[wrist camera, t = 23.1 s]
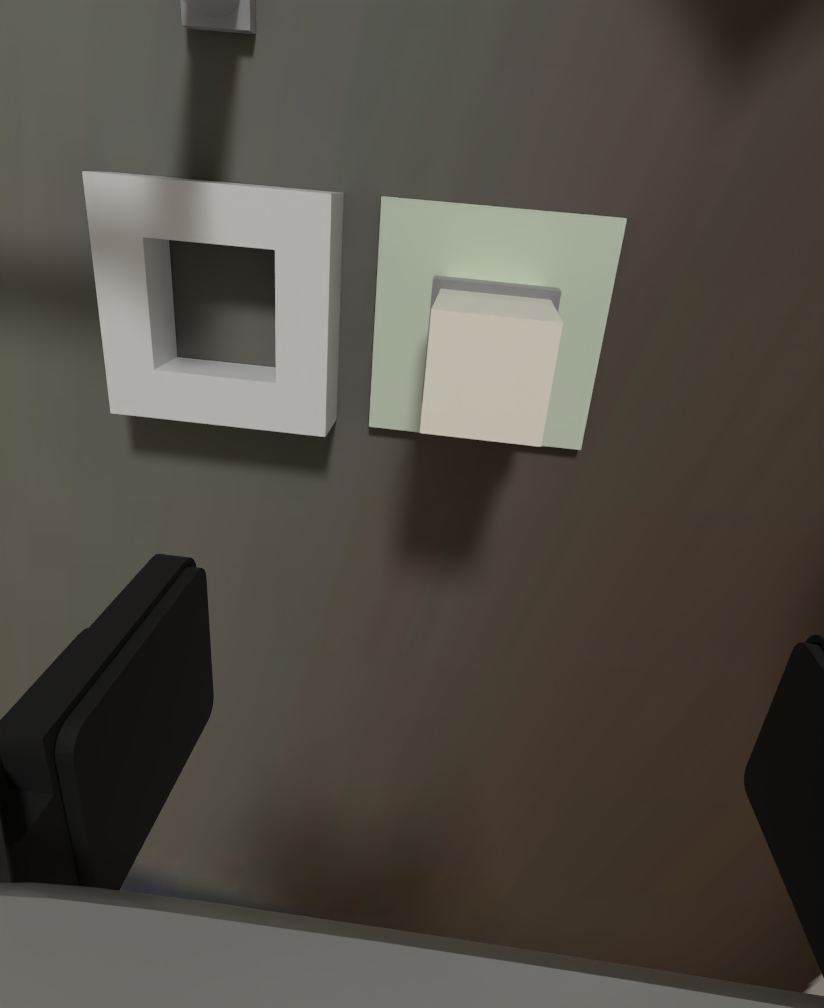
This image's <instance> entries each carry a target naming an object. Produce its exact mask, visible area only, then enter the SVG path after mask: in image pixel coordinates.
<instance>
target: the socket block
mask: <svg viewBox="0 0 824 1008" xmlns="http://www.w3.org/2000/svg"><path fill="white" fill-rule="evenodd" d="M181 14H182V26H184V27H186V28H188V29H196V30H209V31H222V32H235V33H248V34H256V19H255V0H181ZM82 174H83V183H84V191H85V200H86V208H87V217H88V225H89V234H90V242H91V251H92V259H93V268H94V276H95V284H96V293H97V301H98V310H99V318H100V327H101V335H102V344H103V352H104V361H105V369H106V378H107V386H108V395H109V403H110V412H111V413H113V414H122V415H131V416H140V417H149V418H158V419H167V420H176V421H185V422H194V423H203V424H212V425H221V426H230V427H239V428H248V429H257V430H266V431H275V432H284V433H293V434H302V435H311V436H320V437H326V435H327V434H328V432H329V431H330V429H331V427H332V426H333V424H334V423H335V421H336V420H337V389H338V358H339V328H340V297H341V266H342V235H343V204H344V193H340V192H329V191H318V190H307V189H296V188H285V187H273V186H262V185H251V184H240V183H229V182H218V181H207V180H195V179H184V178H173V177H162V176H151V175H140V174H129V173H118V172H91V171H82ZM169 240H176V241H186V242H197V243H207V244H218V245H228V246H239V247H249V248H260V249H270V250H275V332H276V367H267V366H257V365H248V364H238V363H229V362H220V361H210V360H201V359H191V358H182V357H177V344H176V330H175V316H174V302H173V288H172V274H171V260H170V246H169Z"/></svg>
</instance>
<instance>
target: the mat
mask: <svg viewBox="0 0 824 1008" xmlns="http://www.w3.org/2000/svg"><path fill="white" fill-rule="evenodd" d="M626 221H627V219H626V218H618V217H607V216H596V215H585V214H574V213H563V212H552V211H541V210H529V209H518V208H507V207H496V206H485V205H474V204H463V203H451V202H440V201H429V200H418V199H407V198H396V197H385V196H382V197H381V214H380V233H379V251H378V269H377V288H376V306H375V325H374V343H373V361H372V380H371V398H370V417H369V427H375V428H385V429H394V430H403V431H412V432H420V424H421V413H422V403H423V402H421V401H422V390H423V379H424V369H425V358H426V347H427V336H428V326H429V315H430V304H431V293H432V283H433V278H434V276H435V275H437V276H447V277H457V278H466V279H476V280H486V281H496V282H506V283H516V284H526V285H535V286H545V287H555V288H560V290H561V291H562V292H561V298H560V304H559V309H558V314H559V316H560V318H561V320H562V322H563V327H562V333H561V338H560V344H559V349H558V355H557V361H556V366H555V372H554V378H553V383H552V389H551V394H550V400H549V406H548V411H547V417H546V423H545V428H544V434H543V439H542V445H541V446H548V447H557V448H566V449H575V450H581V446H582V441H583V436H584V431H585V426H586V421H587V416H588V411H589V406H590V401H591V396H592V391H593V386H594V381H595V376H596V371H597V366H598V361H599V356H600V351H601V346H602V341H603V336H604V331H605V326H606V321H607V316H608V311H609V306H610V301H611V296H612V291H613V286H614V281H615V276H616V271H617V266H618V261H619V256H620V251H621V246H622V241H623V236H624V231H625V226H626Z"/></svg>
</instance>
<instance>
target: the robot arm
mask: <svg viewBox="0 0 824 1008" xmlns="http://www.w3.org/2000/svg"><path fill="white" fill-rule="evenodd" d="M212 706H213V679H212V662H211V646H210V630H209V613H208V597H207V581H206V573H205V570H204V569H203V568H197V567H196V563H195V561H194V560H193V559H192V558H188V557H180V556H172V555H164V554H156V555H155V556H153V557H152V558H151V559H150V560H149V562H148V563H147V564H146V565H145V566H144V567H143V568H142V569H141V570H140V572H139V573H138V574H137V575H136V576H135V577H134V578H133V579H132V580H131V582H130V583H129V584H128V585H127V586H126V587H125V588H124V589H123V590H122V592H121V593H120V594H119V595H118V596H117V597H116V598H115V599H114V600H113V602H112V603H111V604H110V605H109V606H108V607H107V608H106V609H105V610H104V612H103V613H102V614H101V615H100V616H99V617H98V618H97V619H96V620H95V622H94V623H93V624H92V625H91V626H90V627H89V628H87V629H85V630H83V631H82V632H81V633H80V634H79V635H78V636H77V637H76V638H75V639H74V640H73V641H72V642H71V643H70V644H69V645H68V647H67V648H66V649H65V650H64V651H63V652H62V653H61V654H60V655H59V656H58V658H57V659H56V660H55V661H54V662H53V663H52V664H51V665H50V666H49V667H48V669H47V670H46V671H45V672H44V673H43V674H42V675H41V676H40V677H39V678H38V680H37V681H36V682H35V683H34V684H33V685H32V686H31V687H30V688H29V689H28V691H27V692H26V693H25V694H24V695H23V696H22V697H21V698H20V699H19V700H18V701H17V703H16V704H15V705H14V706H13V707H12V708H11V709H10V710H9V711H8V712H7V714H6V715H5V716H4V717H3V718H2V719H1V720H0V1008H824V996H818V995H812V994H806V993H799V992H793V991H787V990H781V989H774V988H768V987H762V986H755V985H749V984H743V983H737V982H730V981H724V980H718V979H711V978H705V977H699V976H693V975H686V974H680V973H674V972H667V971H661V970H655V969H649V968H642V967H636V966H630V965H623V964H617V963H610V962H604V961H597V960H591V959H584V958H578V957H571V956H565V955H558V954H552V953H545V952H539V951H532V950H526V949H519V948H513V947H506V946H500V945H493V944H487V943H480V942H473V941H467V940H460V939H454V938H447V937H441V936H434V935H428V934H421V933H414V932H408V931H401V930H394V929H388V928H381V927H374V926H367V925H361V924H354V923H347V922H340V921H333V920H327V919H320V918H313V917H306V916H300V915H293V914H286V913H279V912H272V911H266V910H259V909H252V908H245V907H239V906H232V905H225V904H218V903H211V902H203V901H196V900H188V899H180V898H172V897H165V896H157V895H149V894H141V893H134V892H126V891H119V890H120V888H121V886H122V884H123V882H124V880H125V878H126V876H127V874H128V872H129V870H130V869H131V867H132V865H133V863H134V861H135V859H136V857H137V855H138V853H139V851H140V849H141V848H142V846H143V844H144V842H145V840H146V838H147V836H148V834H149V832H150V830H151V828H152V827H153V825H154V823H155V821H156V819H157V817H158V815H159V813H160V811H161V809H162V807H163V806H164V804H165V802H166V800H167V798H168V796H169V794H170V792H171V790H172V788H173V786H174V785H175V783H176V781H177V779H178V777H179V775H180V773H181V771H182V769H183V767H184V765H185V764H186V762H187V760H188V758H189V756H190V754H191V752H192V750H193V748H194V746H195V744H196V743H197V741H198V739H199V737H200V735H201V733H202V731H203V729H204V727H205V725H206V723H207V721H208V719H209V717H210V714H211V711H212ZM744 785H745V790H746V793H747V796H748V799H749V801H750V803H751V806H752V808H753V810H754V813H755V815H756V818H757V820H758V822H759V825H760V827H761V829H762V832H763V834H764V837H765V839H766V841H767V844H768V846H769V848H770V851H771V853H772V856H773V858H774V860H775V863H776V865H777V868H778V870H779V872H780V875H781V877H782V879H783V882H784V884H785V887H786V889H787V891H788V894H789V896H790V898H791V901H792V903H793V906H794V908H795V910H796V913H797V915H798V917H799V920H800V922H801V925H802V927H803V929H804V932H805V934H806V936H807V939H808V941H809V944H810V946H811V948H812V951H813V953H814V955H815V958H816V960H817V963H818V965H819V967H820V970H821V972H822V974H823V977H824V636H821V635H813V636H810V637H809V638H808V639H807V640H806V642H805V643H798V644H797V645H796V646H795V647H794V649H793V651H792V653H791V656H790V658H789V661H788V663H787V666H786V668H785V671H784V673H783V676H782V678H781V681H780V683H779V686H778V688H777V691H776V693H775V696H774V698H773V701H772V703H771V706H770V708H769V711H768V713H767V716H766V718H765V721H764V723H763V726H762V728H761V731H760V733H759V736H758V738H757V741H756V743H755V746H754V748H753V751H752V753H751V756H750V758H749V761H748V763H747V766H746V769H745V774H744Z"/></svg>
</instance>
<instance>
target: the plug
mask: <svg viewBox="0 0 824 1008" xmlns="http://www.w3.org/2000/svg"><path fill="white" fill-rule="evenodd" d="M561 292H562V291H561V290H560V288H555V287H545V286H535V285H526V284H516V283H506V282H496V281H486V280H476V279H466V278H457V277H447V276H437V275H435V276H434V278H433V283H432V293H431V304H430V315H429V326H428V336H427V347H426V358H425V369H424V379H423V390H422V401H421V402H423V403H422V413H421V424H420V433H424V434H432V435H441V436H450V437H458V438H467V439H476V440H485V441H493V442H502V443H511V444H519V445H528V446H537V447H541V445H542V439H543V434H544V428H545V423H546V417H547V411H548V406H549V400H550V394H551V389H552V383H553V378H554V372H555V366H556V361H557V355H558V349H559V344H560V338H561V333H562V327H563V322H562V320H561V318H560V316H559V314H558V309H559V304H560V298H561Z"/></svg>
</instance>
